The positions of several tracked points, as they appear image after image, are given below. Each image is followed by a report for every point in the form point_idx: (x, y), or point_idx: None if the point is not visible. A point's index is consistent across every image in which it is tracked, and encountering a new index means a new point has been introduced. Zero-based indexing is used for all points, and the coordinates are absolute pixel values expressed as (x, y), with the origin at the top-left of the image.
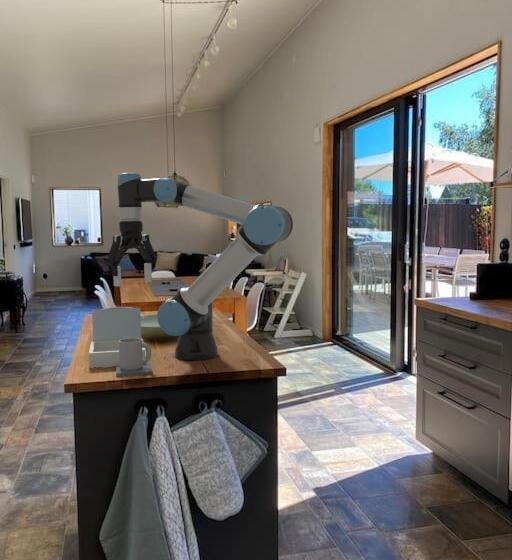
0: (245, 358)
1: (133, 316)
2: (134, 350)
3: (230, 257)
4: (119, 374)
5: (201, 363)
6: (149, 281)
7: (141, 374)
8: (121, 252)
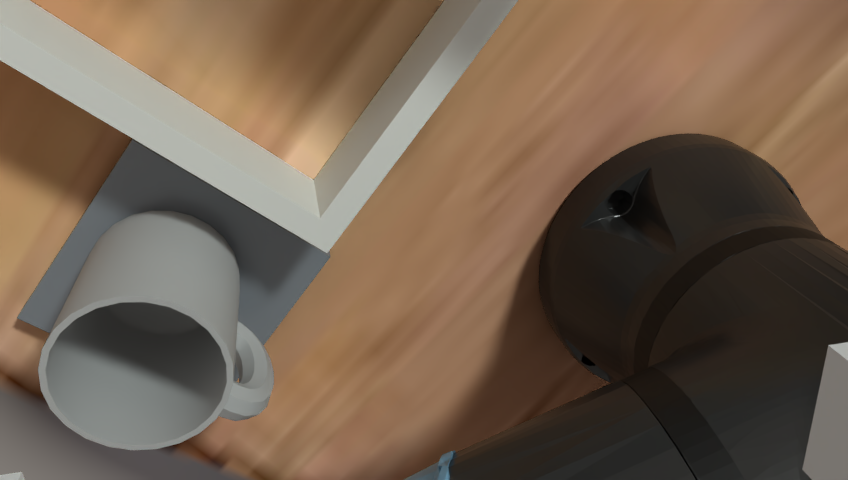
0: None
1: None
2: (130, 409)
3: None
4: (37, 323)
5: (535, 399)
6: (812, 465)
7: None
8: None
